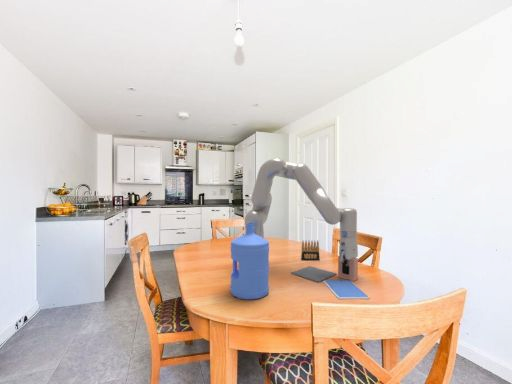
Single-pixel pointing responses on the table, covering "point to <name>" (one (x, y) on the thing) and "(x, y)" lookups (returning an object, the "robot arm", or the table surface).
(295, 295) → the table surface
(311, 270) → the mat
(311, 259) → the ammunition clip
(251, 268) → the water jug
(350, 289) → the blue notebook
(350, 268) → the brown rectangular block
